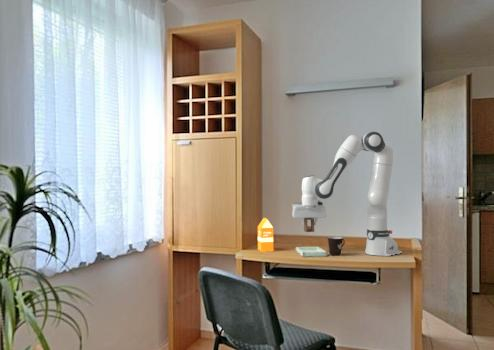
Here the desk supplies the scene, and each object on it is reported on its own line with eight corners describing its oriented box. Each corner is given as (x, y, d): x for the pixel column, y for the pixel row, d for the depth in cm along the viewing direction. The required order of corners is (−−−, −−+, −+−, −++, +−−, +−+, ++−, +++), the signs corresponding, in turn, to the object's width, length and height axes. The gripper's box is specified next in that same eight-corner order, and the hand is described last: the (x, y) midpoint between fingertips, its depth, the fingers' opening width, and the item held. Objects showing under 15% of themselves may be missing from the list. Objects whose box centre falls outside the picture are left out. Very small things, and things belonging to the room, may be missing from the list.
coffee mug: (331, 256, 242) (331, 239, 242) (325, 253, 251) (325, 236, 251) (350, 255, 244) (350, 238, 244) (343, 253, 253) (343, 236, 253)
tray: (318, 250, 261) (318, 246, 261) (327, 256, 243) (327, 252, 243) (295, 251, 260) (295, 247, 260) (303, 256, 241) (303, 252, 241)
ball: (309, 230, 257) (308, 225, 258) (312, 230, 255) (311, 225, 255) (305, 231, 256) (305, 226, 256) (308, 230, 253) (308, 226, 254)
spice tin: (312, 230, 258) (312, 217, 258) (314, 231, 253) (314, 218, 253) (304, 230, 258) (304, 217, 258) (306, 232, 253) (306, 218, 253)
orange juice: (261, 252, 257) (261, 219, 257) (257, 249, 266) (257, 217, 266) (273, 251, 259) (273, 218, 259) (269, 249, 268) (269, 217, 268)
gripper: (293, 202, 251) (293, 226, 251) (326, 202, 253) (326, 225, 253) (291, 202, 257) (291, 225, 257) (323, 202, 259) (323, 224, 259)
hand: (309, 225), depth 255 cm, fingers closed on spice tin, 5 cm apart
